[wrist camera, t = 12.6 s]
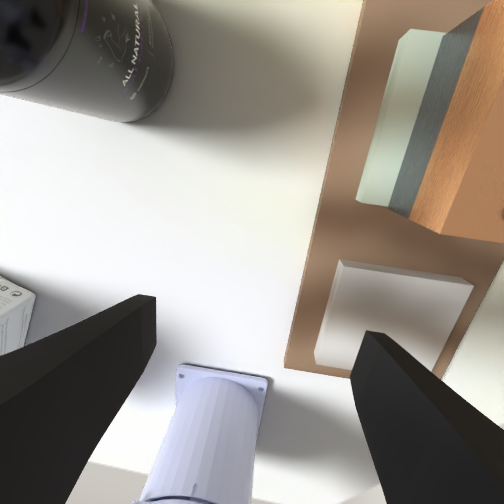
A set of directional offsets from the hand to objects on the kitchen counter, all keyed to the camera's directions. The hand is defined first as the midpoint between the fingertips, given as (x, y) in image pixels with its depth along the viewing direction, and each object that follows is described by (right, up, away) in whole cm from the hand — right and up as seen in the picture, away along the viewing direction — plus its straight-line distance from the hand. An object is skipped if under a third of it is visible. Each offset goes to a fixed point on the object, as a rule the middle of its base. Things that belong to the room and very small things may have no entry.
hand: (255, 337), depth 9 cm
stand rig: (+10, +4, +8) cm, 14 cm away
